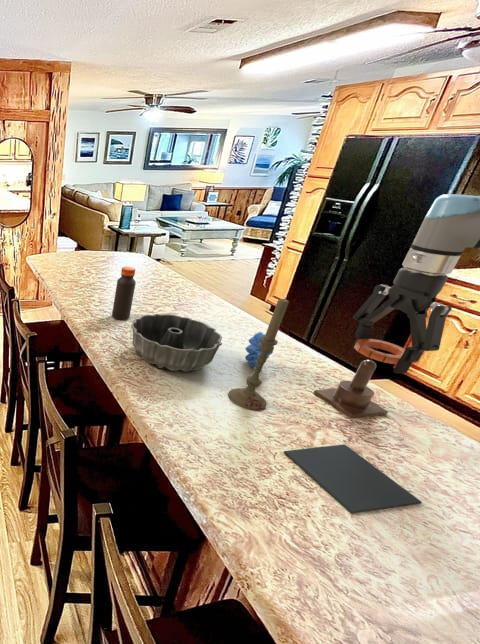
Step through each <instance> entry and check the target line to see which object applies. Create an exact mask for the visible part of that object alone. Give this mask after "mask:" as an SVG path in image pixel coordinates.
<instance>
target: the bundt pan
mask: <svg viewBox="0 0 480 644" xmlns="http://www.w3.org/2000/svg"><path fill="white" fill-rule="evenodd" d="M130 328H131V329H132V345H133V347H134V349H135V353H136V355H137V356H138V357H140V358H141V359H143V360H144V361H145V362H147V363H148V364H153V365H156V366H157V368H159V369H161V368H166V369H167V370H169V371H174V372H175V371H181V372H184V373H188V372H190V371H196V370H200V369H202V368H204V367H206V366H207V365H209V364H210V363H211V362H212V361H213V360H214V358H215V356H216V354H217V352H218V350H219V348H220V346H222V345H223V343H222V339H223V336H222V335H221V334H220V333H219V332H217V330H216V328H214V327H211V326H210V325H208V324H207V323H204V322H203V321H200V320H195V319H192V318H190V317H187V316H186V317H185V316H180V315H176V314H160V313H154V314H145V315H141V316H140V317H138V318H134V319H133V322H132V323H131V325H130Z"/></svg>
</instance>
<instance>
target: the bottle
mask: <svg viewBox="0 0 480 644" xmlns="http://www.w3.org/2000/svg"><path fill="white" fill-rule="evenodd" d="M120 275H121V277H118V279H117V280H116V286H115V287H116V288H115V293H114V300H113V304H112V312H111V317H112V318H113V319H115V320H118V321H127V320H129V319H130V316H131V311H132V307H133V306H132V305H133V300H134V295H135V288H136V280H135V279H134V277H135V275H136V268H135V267H132V266H122V267H121V271H120Z"/></svg>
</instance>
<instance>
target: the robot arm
mask: <svg viewBox="0 0 480 644" xmlns="http://www.w3.org/2000/svg"><path fill="white" fill-rule="evenodd" d="M466 248H472V249H476V250H477V249H480V195H471V194H459V193H448V194H447V193H446V194H442V195H439V196H437V197H436V198H435V199H434V201H433V203H432V204H431V206H430V208H429V209H428V211H427V213H426V215H425V216H424V219H423V221H422V223H421V225H420V227H419V228H418V231H417V233H416V235H415V238H414V239H413V242H412V243H411V246H410V248H409V250H408V251H407V253H406V255H405V258H404V260H403V262H402V264H401V265H402V267H401V268H399V270H398V271H397V274H396V276H395V278H394V279H393V282H392V283H393V285H392V286H389V284H377V285H375V286H374V288H373V291H372V294H371V295H370V296H369V297H368V298H367V300H366V301H365V302H363V304H362V305H361V306H360V308H359V309H358V310H357V311H356V312H355V313H354V314H353V316H352V319H353V320H354V321H357V322H358V326H357V328H356V331H355V333H354V337H356V338H355V340H354V341H353V344H352V346H351V348H350V351H351V352H357V350H356V349H355V348H354V346H355V344H356V342H357V341H358V340H359V339H370V337H371V335H372V333H373V331H374V329H375V327H374V324H375V323H376V322H377V321H379V320H381V319H382V318H383V317H385V316H387V315H388V314H389V313H391V312H393V311H394V310H396V311H397V310H398V311H400V312H402V313H404V314H406V315H407V318H408V319H409V326H410V327H409V328H410V340H411V346H406V347H405V348H404V349H405V351H404V353H403V355H402V356H401V358H400V360H399V362H398V364H395V365H396V366H395V367H394V369H393V370H392V373H394V374H395V375H397V374H407V373H408V371H409V369H410V368H411V366H412V365H413V364H414V363H415V364H416V363H418V362H419V361H420V359H421V357H422V355H423V354H424V352H438V351H439V350H440V346H441V342H442V338H443V333H444V329H445V324H446V320H447V316H448V315H449V314H450V312H451V311H452V309H453V307H452V306H451V305H449V304H447V305H445V304H442V303H440V302H438V301H437V296H438V295H439V294H440V293H441V292H442V290H443V288H444V287H445V286H446V283H447V281H448V279H449V277H448V275H450V274H452V273H453V271H454V269H455V268H456V265H457V263H458V261H459V260H460V258H461V256H462V254H463V252H464V250H465V249H466ZM387 295H388V299H387V300H386V301H384V302H383V303H381V302H382V301H383V300H384V299H385V298H386V296H387ZM380 304H381V306H379V305H380ZM378 306H379V307H378ZM377 307H378V308H377ZM429 308H430V310H429V313H430V314H429V317H428V309H429ZM427 318H428V321H427Z"/></svg>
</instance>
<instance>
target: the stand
mask: <svg viewBox="0 0 480 644" xmlns="http://www.w3.org/2000/svg"><path fill="white" fill-rule="evenodd" d="M376 368H377V363H376V362H375V360H374V361H373V359H365V360H362V361H361V362H360V364H359V366H358V368H357V370H356V372H355V374H354V376H353V377H352V379H351V380H341V381H340V382H339V383H338V385H337V387H336V388H334V387H333V388H324V389H315V390H314V391H313V394H314V395H316V396H317V397H319V398H320V399H322V400H323V401H325V402H326V403H328V404H329V405H330V406H332V407H334V408H335V409H337V410H338V411H340V412H341V413H343V414H344V415H346V417H349V418H350V419H355V418H364V417H365V418H366V417H376V416H384V415H388V414H389V411H388V410H387V409H385V408H384V407H382V406H380V405H379V404H377V403H375V402H374V401H373V400H372V399H373V398H374V396H375V392H374V390H373V389H371V388H370V387H368V384H369V382H370V380H371V378H372V376H373V375H374V373H375V370H376Z"/></svg>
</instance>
